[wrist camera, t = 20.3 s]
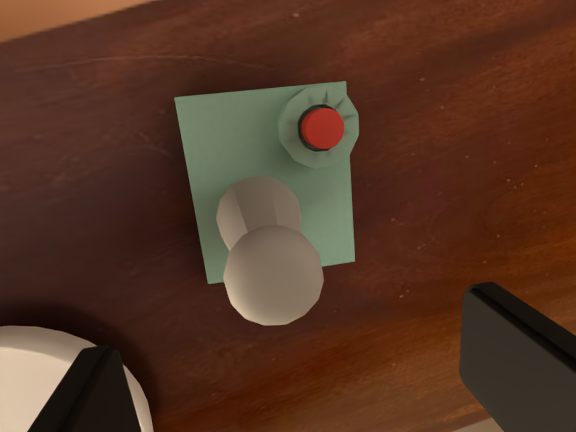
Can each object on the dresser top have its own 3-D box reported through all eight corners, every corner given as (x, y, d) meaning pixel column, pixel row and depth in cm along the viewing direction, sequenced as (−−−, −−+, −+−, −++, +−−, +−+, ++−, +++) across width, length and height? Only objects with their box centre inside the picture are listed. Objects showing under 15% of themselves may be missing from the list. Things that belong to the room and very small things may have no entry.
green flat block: (177, 98, 25) (169, 95, 22) (343, 82, 26) (356, 78, 23) (209, 276, 29) (206, 294, 26) (352, 254, 30) (364, 269, 27)
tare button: (299, 110, 24) (303, 109, 22) (336, 106, 24) (343, 105, 22) (302, 149, 25) (307, 151, 23) (338, 145, 25) (345, 146, 23)
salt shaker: (209, 179, 25) (185, 237, 13) (286, 162, 26) (334, 202, 13) (229, 253, 27) (224, 366, 15) (301, 235, 28) (355, 330, 15)
